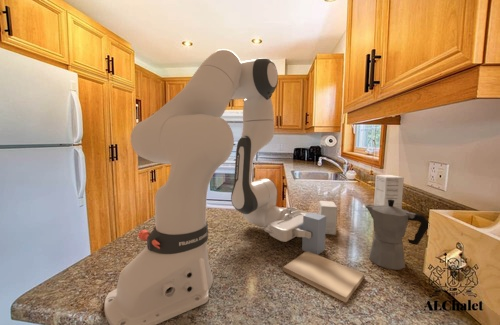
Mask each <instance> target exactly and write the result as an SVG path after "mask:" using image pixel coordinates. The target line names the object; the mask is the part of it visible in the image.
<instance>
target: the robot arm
mask: <svg viewBox="0 0 500 325" xmlns="http://www.w3.org/2000/svg"><path fill="white" fill-rule="evenodd" d="M278 83H279V73H278V69H277V66H276V64H275V63H274V62H273V61H272V60H271V59H270V58H268V57H258V58H256V59H251V60H245V61H241V60H240V58H239V56H238V55H237V54H236V53H235V52H234V51H232V50H230V49H226V48H222V49H217V50H216V51H214V52H213V53H211V55H209V56H208V57H207V58H206V59H205V60H204V61H203V62H202V63H201V64H200V65H199V66H198V68H197V70H196V71H195V73H194V74H193V75H192V76H191V78H190V79H189V81H188V82H187V83H186V84H185V86H184V87H183V88H182V90H181V91H179V92H178V93H177V94H176V95H175V96H174V97H173V98H171V99H170V100H169V101H167V102H166V103H165V104H164V105H163V106H162V107H161V108H159V109H158V110H157V111H155V113H153V114H151V115H150V116H148V117H147V118H145V119H144V120H141V121H139V122H138V123H136V124H135V126H134V127H133V129H132V131H131V133H130V143H131V148H132V149H133V151H134V152H135V153H136V155H138V156H139V157H140V158H142V159H145V160H147V161H150V162H152V163H156V164H162V165H163V164H164V165H170V171H169V174H168V177H167V180H166V182H165V183H164V184H163V185H162V186H160V187H159V188H158V189H157V191H156V192H155V195H154V218H155V220H154V222H155V225H154V227H153V230H152V231H151V232H149V231H148V230H146V229H142V230H139V232H138V239H140V240H142V242H146V246H145V248H144V249H142V250H141V251H140V252H139V253H138V254H137V255H136V256H135V257H134V258H133V259H132V260H131V261H130V262H128V264H127V265H125V266H124V267H123V269H122V270H121V271H120V274H119V276H118V280H117V285H116V288H114V289H113V290H111V291H110V292H108V294H107V295H106V297H105V299H104V305H103V310H104V311H103V312H104V316H105V318H106V320H107V322H108V325H158V324H161V323H163V322H166V321H168V320H170V319H172V318H175V317H177V316H179V315H182V314H184V313H186V312H189V311H191V310H193V309H195V308H198V307H199V306H202V305H204V304H207V303H208V301H209V297H210V295H209V294H210V293H209V291H210V290H211V287H212V286H213V282H214V275H213V272H212V269H211V265H210V261H209V254H208V245H207V244H208V243H207V242H208V239H209V224H208V221H207V196H208V191H209V190H208V189H209V185H210V183H211V180H212V178H213V176H214V174H215V173H216V171H217V170H218V168H219V167H221V166H222V165H223V164H224V163H226V161H227V160H228V159H229V158H230V156H231V154H232V152H233V149H234V142H235V141H234V138H235V136H234V132H233V131H232V128H231V127H230V125H229V123H228V122H227V120H225V119H224V118H222V116H223V115H224V113H225V111H226V110H227V107H228V106H229V104H230V102H231V101H234V100H242V102H243V106H242V124H243V125H242V126H243V127H242V133H241V136H240V138H239V139H238V141H237V144H236V152H235V163H234V177H233V178H234V179H233V184H232V185H233V186H232V191H231V194H230V201H231V204H232V206H233V209H235V210H236V211H237V212H239V213H241V214H242V216H243V218H244V219H245V220H246V221H247V222H249V223H251V224H252V225H254V226H257V227H258V228H263V231H264V232H265V233H268V234H269V236H270V237H272V238H274V239H276V240H277V241H280V242H283V243H284V242H286V243H287V242H289V241H290V240H292V239H294V238H296V237H297V238H303V237H306V238H311V237H313V232H312V231H309V230H307V231H305V230H303V216H304V215H306V214H309V213H310V211H309V212H308V211H305V210H303V209H298V208H297V207H296V206H295V207H294V206H292V207H291V206H290V207H283V206H282V207H279V206H277V201H278V187H277V185H276V184H275V182H274V181H273V180H271V179H270V178H267V177H266V178H261V179H260V178H259V179H256V180H254V181H252V178H253V177H252V174H253V161H254V159H255V156H256V155H257V153H258V152H259V151H260V150H261V149H263V148H264V147H266V146H267V145H269V144H270V142H271V141H272V140H273V138H274V133H275V114H274V106H273V101H272V96H273V93H274V92H275V90H276V89H277V86H278Z"/></svg>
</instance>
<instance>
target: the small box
mask: <svg viewBox="0 0 500 325" xmlns="http://www.w3.org/2000/svg"><path fill="white" fill-rule="evenodd" d="M318 214H320V215H324V216H326V230H325V235H334V236H335V235H337V221H338V206H337V205H336V204H335V202H334V201H330V200H329V201H327V200H319V201H318Z"/></svg>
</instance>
